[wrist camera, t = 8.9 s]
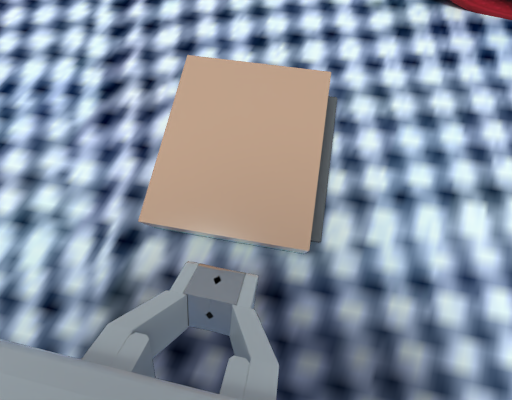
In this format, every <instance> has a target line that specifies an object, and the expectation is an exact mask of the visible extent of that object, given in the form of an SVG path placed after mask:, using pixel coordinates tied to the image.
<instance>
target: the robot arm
mask: <svg viewBox="0 0 512 400" xmlns="http://www.w3.org/2000/svg"><path fill="white" fill-rule="evenodd" d="M257 283H258V275H254V274H249V273H244V272H239V271H234V270H228V269H222V268H218V267H213V266H209V265H205V264H199V263H195V262H191V261H188V262H187V263H186V264H185V265H184V267H183V269H182V270H181V272H180V274H179V276H178V277H177V279H176V281H175V282H174V284H173V286H172V287H171V289H170V291H167V290H165V291H164V292H162V293H160V294H159V295H157V296H155V297H153V298H152V299H150V300H148V301H147V302H145V303H143V304H141V305H140V306H138V307H136V308H135V309H133V310H131V311H129V312H128V313H126V314H124V315H123V316H121V317H119V318H117V319H116V320H114V321H112V322H111V323H109V324H107V326H106V327H105V328H104V330H103V331H102V332H101V334H100V335H99V336H98V338H97V339H96V340H95V342H94V343H93V344H92V346H91V347H90V348H89V350H88V351H87V352H86V354H85V355H84V356H83V358H82V359H78V358H74V357H70V356H66V355H62V354H58V353H54V352H50V351H46V350H42V349H38V348H34V347H30V346H26V345H22V344H18V343H14V342H10V341H6V340H2V339H0V400H276V395H277V384H278V373H279V364H278V361H277V359H276V357H275V355H274V352H273V350H272V348H271V345H270V343H269V341H268V339H267V336H266V334H265V332H264V329H263V327H262V325H261V323H260V320H259V318H258V316H257V313H256V311H255V309H254V303H255V297H256V290H257ZM188 326H189V327H194V328H199V329H204V330H209V331H213V332H217V333H221V334H225V335H229V336H230V340H231V343H232V347H233V351H234V355H235V356H232V357H231V358H229V361H228V364H227V368H226V372H225V375H224V379H223V383H222V386H221V390H220V393H219V394H216V393H213V392H209V391H205V390H201V389H197V388H193V387H189V386H185V385H181V384H177V383H173V382H169V381H165V380H161V379H157V378H155V372H154V366H153V360H152V359H153V358H154V357H155V356H156V355H158V354H159V353H160V352H161V351H162V350H163V349H164V348H166V347H167V346H168V345H169V344H170V343H171V342H172V341H174V340H175V339H176V338H177V337H178V336H179V335H180V334H182V333H183V332H184V331H185V330H186V329H187V328H188Z"/></svg>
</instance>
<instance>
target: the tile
mask: <svg viewBox="0 0 512 400" xmlns="http://www.w3.org/2000/svg"><path fill="white" fill-rule="evenodd" d="M330 77H331V72H327V71H318V70H310V69H301V68H293V67H284V66H276V65H267V64H259V63H250V62H242V61H233V60H225V59H216V58H208V57H200V56H191V55H187V59H186V62H185V65H184V69H183V72H182V75H181V79H180V82H179V86H178V89H177V92H176V96H175V99H174V102H173V106H172V109H171V112H170V116H169V119H168V123H167V126H166V129H165V133H164V136H163V139H162V143H161V146H160V150H159V153H158V156H157V160H156V163H155V166H154V170H153V173H152V176H151V180H150V183H149V187H148V190H147V193H146V197H145V200H144V203H143V207H142V210H141V213H140V217H139V220H138V221H139V222H141V223H144V224H146V225H149V226H151V227H154V228H158V229H164V230H170V231H175V232H181V233H187V234H192V235H198V236H204V237H209V238H215V239H221V240H226V241H232V242H238V243H244V244H249V245H255V246H261V247H266V248H272V249H278V250H283V251H289V252H295V253H300V254H304V253H306V252H308V251H309V248H310V240H311V232H312V224H313V216H314V208H315V199H316V191H317V183H318V175H319V167H320V159H321V151H322V142H323V134H324V126H325V118H326V110H327V102H328V93H329V85H330Z"/></svg>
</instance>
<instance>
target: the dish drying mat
mask: <svg viewBox="0 0 512 400" xmlns="http://www.w3.org/2000/svg"><path fill="white" fill-rule="evenodd" d="M451 1H452V2H453V3H455V4H457V5H459V6H460V7H462V8H464V9H466V10H469V11H472V12H475V13H479V14H484V15H489V16H494V17H500V18H505V19H509V20H512V0H451Z"/></svg>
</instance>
